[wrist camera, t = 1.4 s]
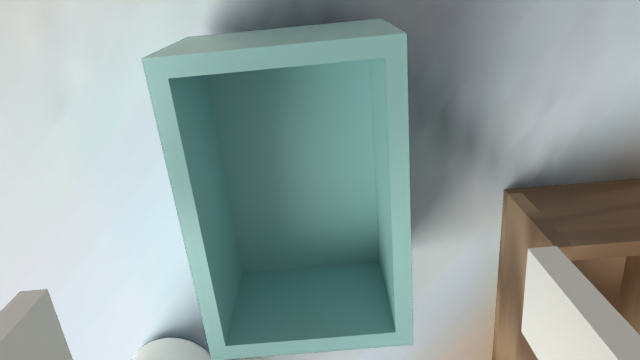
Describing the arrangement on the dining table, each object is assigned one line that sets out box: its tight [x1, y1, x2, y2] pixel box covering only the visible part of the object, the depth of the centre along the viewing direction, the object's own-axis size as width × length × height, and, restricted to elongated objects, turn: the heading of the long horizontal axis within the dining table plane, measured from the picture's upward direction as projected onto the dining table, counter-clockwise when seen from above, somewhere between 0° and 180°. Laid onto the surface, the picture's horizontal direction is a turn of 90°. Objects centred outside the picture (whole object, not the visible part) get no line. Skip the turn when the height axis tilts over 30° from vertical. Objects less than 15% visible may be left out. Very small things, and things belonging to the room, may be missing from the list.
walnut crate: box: [492, 179, 640, 360], centre depth 25 cm, size 12×7×6 cm, turn 5°
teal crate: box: [142, 18, 413, 360], centre depth 21 cm, size 12×8×7 cm
